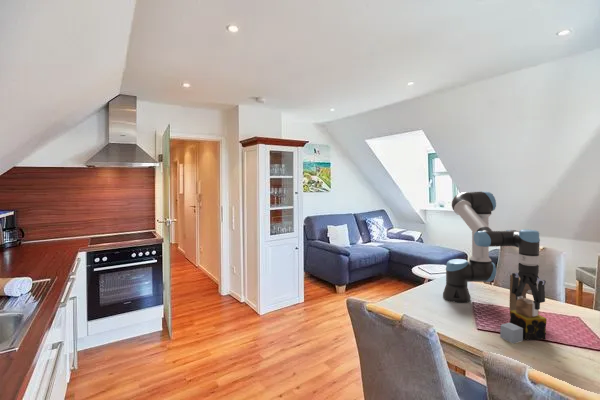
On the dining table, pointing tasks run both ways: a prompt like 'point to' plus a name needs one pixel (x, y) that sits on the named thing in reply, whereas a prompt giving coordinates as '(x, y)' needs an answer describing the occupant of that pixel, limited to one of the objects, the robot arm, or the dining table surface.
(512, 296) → the decorative block
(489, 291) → the dining table surface
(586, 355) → the dining table surface
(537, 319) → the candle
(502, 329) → the slate block
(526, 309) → the walnut cube
